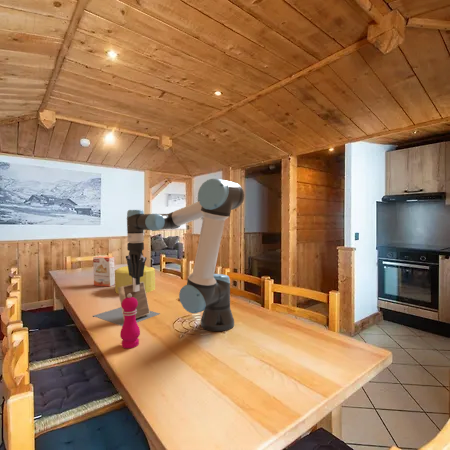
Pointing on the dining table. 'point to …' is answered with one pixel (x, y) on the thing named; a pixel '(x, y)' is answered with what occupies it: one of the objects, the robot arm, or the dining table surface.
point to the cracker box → (104, 271)
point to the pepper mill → (130, 323)
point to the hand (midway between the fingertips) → (136, 291)
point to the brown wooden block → (139, 295)
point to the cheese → (124, 278)
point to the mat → (121, 316)
